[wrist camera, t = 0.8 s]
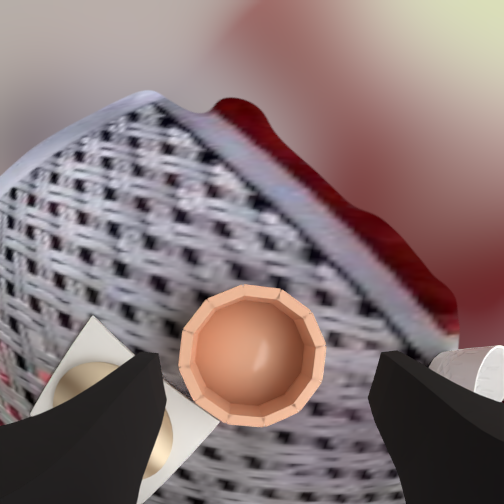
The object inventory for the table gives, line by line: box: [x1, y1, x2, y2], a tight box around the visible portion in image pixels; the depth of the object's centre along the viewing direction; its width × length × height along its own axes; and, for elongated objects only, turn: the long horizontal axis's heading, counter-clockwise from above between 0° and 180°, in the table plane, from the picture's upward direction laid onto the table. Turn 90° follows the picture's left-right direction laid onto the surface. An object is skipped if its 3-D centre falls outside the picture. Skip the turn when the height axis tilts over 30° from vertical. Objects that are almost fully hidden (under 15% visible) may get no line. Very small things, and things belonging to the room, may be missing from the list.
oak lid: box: [53, 362, 173, 480], centre depth 23 cm, size 15×15×4 cm
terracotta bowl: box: [178, 284, 326, 427], centre depth 26 cm, size 13×13×5 cm
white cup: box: [428, 345, 504, 402], centre depth 25 cm, size 8×8×10 cm
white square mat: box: [30, 316, 220, 504], centre depth 25 cm, size 18×18×1 cm
